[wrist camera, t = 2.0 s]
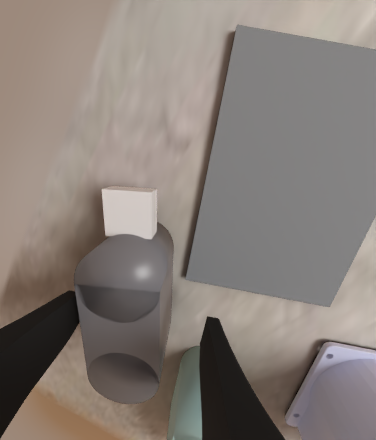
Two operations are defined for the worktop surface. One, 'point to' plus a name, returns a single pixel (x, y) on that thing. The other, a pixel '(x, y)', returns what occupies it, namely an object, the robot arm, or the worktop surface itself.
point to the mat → (289, 168)
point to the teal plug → (186, 400)
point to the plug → (126, 297)
